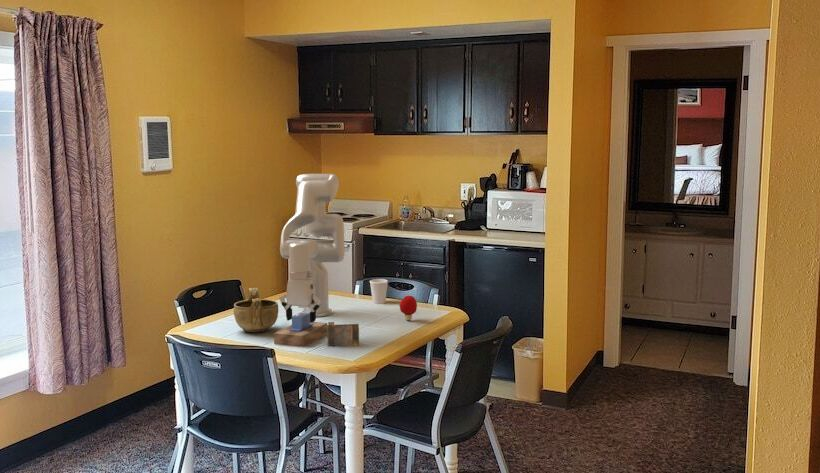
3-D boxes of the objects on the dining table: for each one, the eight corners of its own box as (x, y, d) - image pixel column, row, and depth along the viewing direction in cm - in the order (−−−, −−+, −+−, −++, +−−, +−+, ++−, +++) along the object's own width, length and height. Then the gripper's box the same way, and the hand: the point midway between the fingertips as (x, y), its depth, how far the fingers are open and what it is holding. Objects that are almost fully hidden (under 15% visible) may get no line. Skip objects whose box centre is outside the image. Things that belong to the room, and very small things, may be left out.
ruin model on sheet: (327, 347, 284) (327, 321, 282) (327, 345, 287) (327, 319, 285) (359, 346, 285) (359, 320, 284) (358, 344, 288) (358, 318, 287)
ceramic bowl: (233, 325, 315) (232, 288, 313) (276, 322, 320) (275, 286, 318) (235, 339, 294) (234, 300, 292) (281, 336, 298) (280, 297, 296)
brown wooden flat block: (274, 343, 287) (273, 333, 287) (299, 330, 306) (299, 320, 306) (303, 346, 283) (303, 335, 283) (327, 333, 302) (327, 322, 302)
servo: (303, 331, 300) (303, 309, 299) (312, 332, 299) (312, 310, 298) (289, 338, 290) (289, 316, 289) (299, 339, 289) (298, 317, 288)
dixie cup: (371, 300, 359) (371, 278, 358) (389, 300, 358) (389, 279, 357) (368, 304, 351) (367, 282, 350) (386, 304, 350) (386, 282, 349)
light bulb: (414, 324, 315) (414, 299, 314) (397, 323, 317) (397, 298, 315) (419, 318, 324) (418, 294, 323) (402, 317, 326) (402, 294, 325)
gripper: (325, 275, 292) (326, 320, 294) (284, 272, 298) (285, 316, 300) (316, 278, 285) (317, 324, 287) (274, 276, 291) (275, 321, 293)
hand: (301, 320), depth 294 cm, fingers open, 9 cm apart
